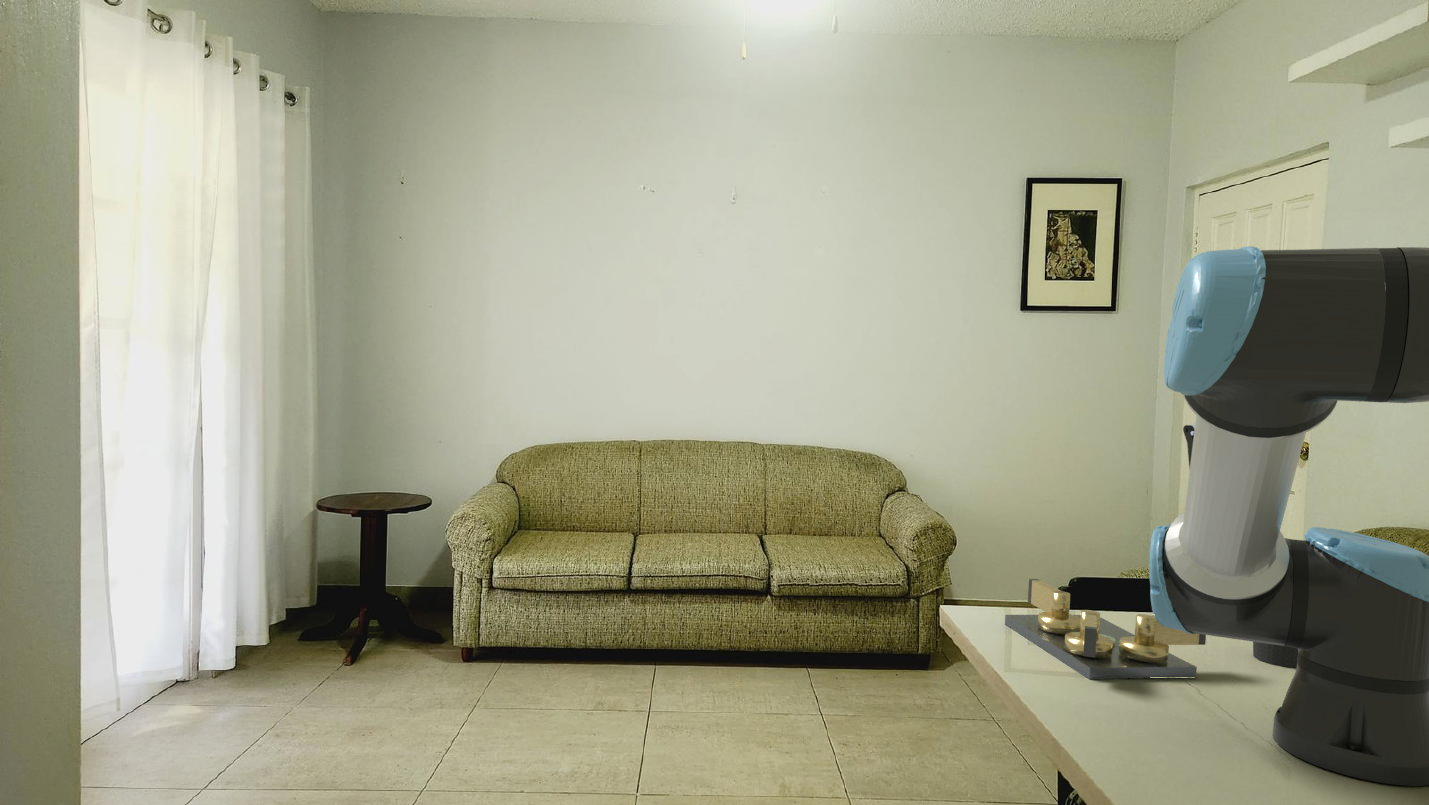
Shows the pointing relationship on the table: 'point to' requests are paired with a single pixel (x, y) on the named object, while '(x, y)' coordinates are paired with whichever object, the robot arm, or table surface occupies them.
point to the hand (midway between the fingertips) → (1215, 558)
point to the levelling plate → (1099, 667)
